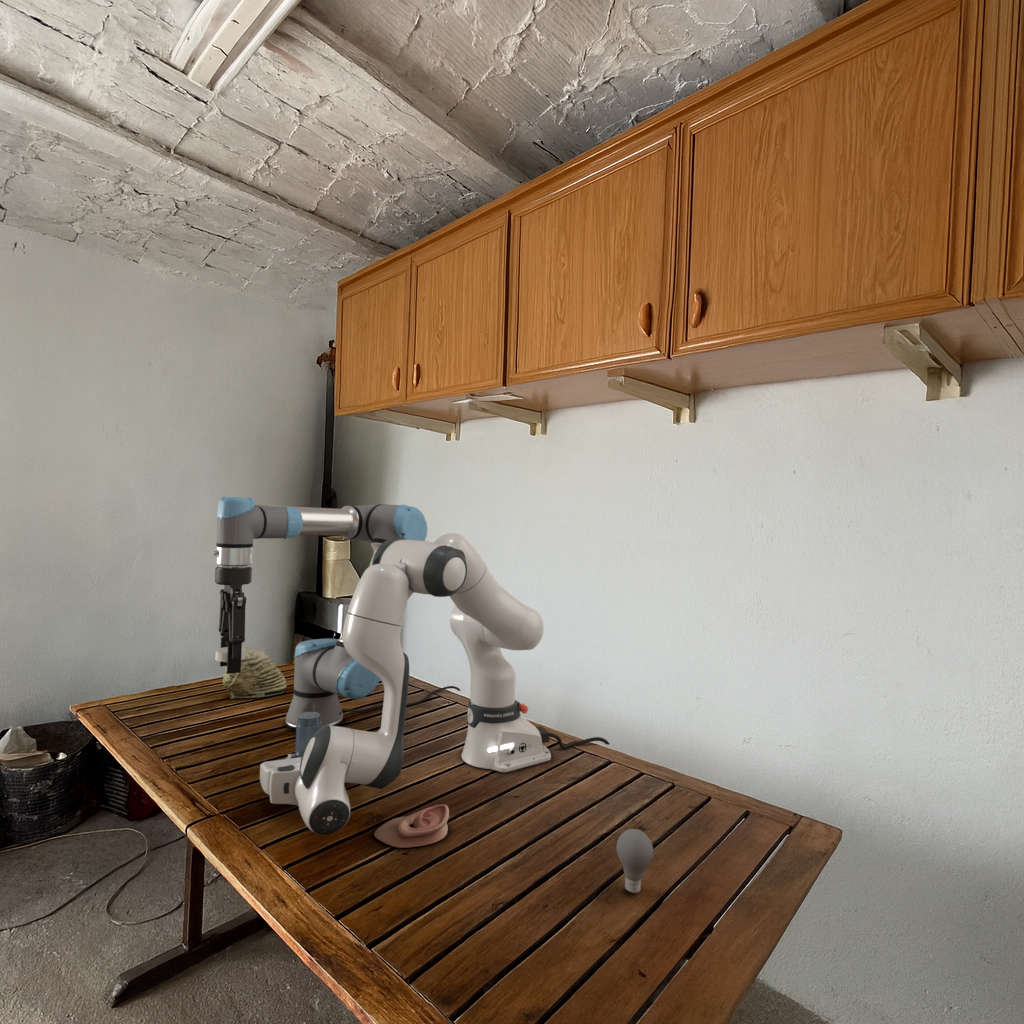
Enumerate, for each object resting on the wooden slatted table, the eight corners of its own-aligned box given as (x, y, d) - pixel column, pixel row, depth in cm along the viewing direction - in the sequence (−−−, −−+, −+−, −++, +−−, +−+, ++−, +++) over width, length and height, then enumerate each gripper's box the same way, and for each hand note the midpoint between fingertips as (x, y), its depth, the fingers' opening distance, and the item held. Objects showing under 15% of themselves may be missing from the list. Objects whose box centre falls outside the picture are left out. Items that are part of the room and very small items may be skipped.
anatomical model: (367, 821, 116) (391, 793, 128) (366, 843, 116) (391, 813, 128) (436, 832, 114) (455, 803, 125) (435, 854, 114) (454, 822, 125)
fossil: (218, 695, 195) (220, 647, 195) (278, 685, 208) (279, 640, 207) (228, 703, 189) (230, 653, 188) (289, 692, 201) (290, 645, 201)
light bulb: (610, 879, 108) (613, 822, 108) (644, 879, 109) (647, 822, 109) (619, 902, 102) (622, 840, 102) (655, 901, 103) (658, 840, 103)
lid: (218, 663, 137) (219, 654, 137) (212, 656, 142) (212, 648, 142) (248, 659, 141) (249, 651, 141) (241, 653, 146) (241, 645, 146)
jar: (315, 777, 143) (318, 709, 142) (321, 787, 138) (324, 717, 138) (291, 782, 140) (294, 712, 140) (296, 792, 135) (299, 720, 135)
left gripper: (206, 561, 147) (203, 661, 147) (225, 571, 131) (221, 682, 132) (241, 561, 151) (237, 657, 151) (263, 570, 136) (259, 677, 136)
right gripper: (368, 758, 132) (355, 735, 144) (263, 773, 123) (258, 746, 135) (367, 788, 132) (353, 762, 144) (262, 805, 123) (257, 776, 135)
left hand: (230, 668), depth 141 cm, fingers closed on lid, 6 cm apart
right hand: (306, 755), depth 140 cm, fingers closed on jar, 5 cm apart
